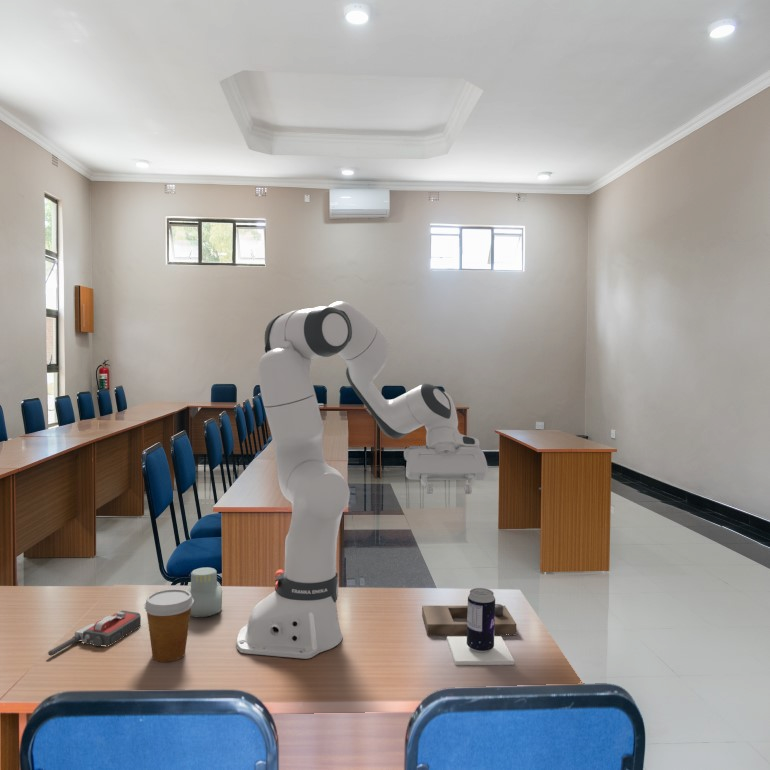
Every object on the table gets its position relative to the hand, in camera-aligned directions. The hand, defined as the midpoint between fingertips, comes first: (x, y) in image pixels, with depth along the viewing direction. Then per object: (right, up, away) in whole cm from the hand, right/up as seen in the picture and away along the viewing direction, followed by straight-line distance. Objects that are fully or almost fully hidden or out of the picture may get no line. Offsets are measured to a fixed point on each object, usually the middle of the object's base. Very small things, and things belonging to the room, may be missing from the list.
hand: (449, 492), depth 148 cm
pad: (+4, -30, -18) cm, 36 cm away
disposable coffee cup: (-59, -29, -22) cm, 70 cm away
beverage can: (+5, -30, -19) cm, 35 cm away
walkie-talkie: (-77, -29, -16) cm, 83 cm away
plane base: (+4, -30, -5) cm, 30 cm away
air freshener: (-59, -28, -1) cm, 65 cm away
